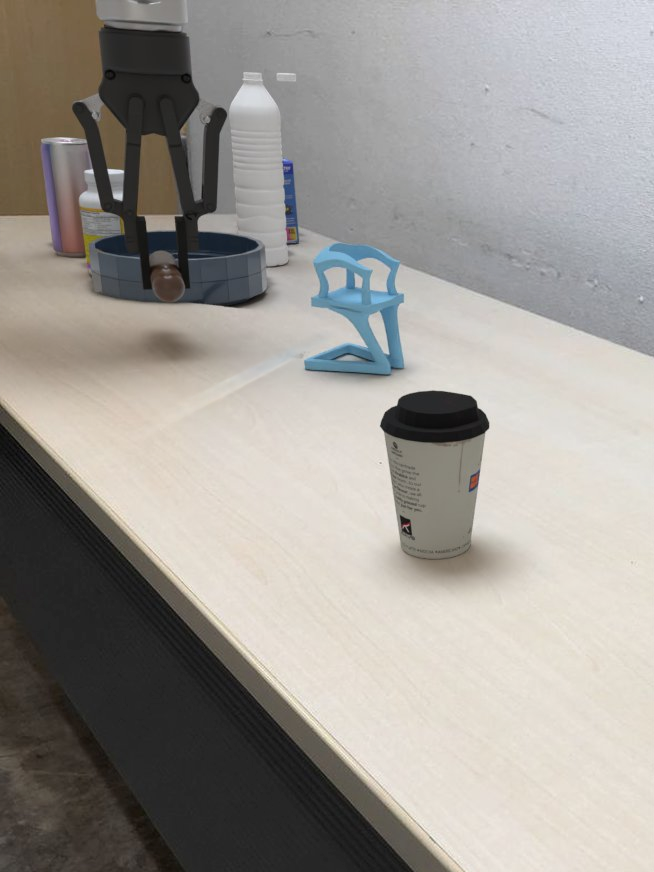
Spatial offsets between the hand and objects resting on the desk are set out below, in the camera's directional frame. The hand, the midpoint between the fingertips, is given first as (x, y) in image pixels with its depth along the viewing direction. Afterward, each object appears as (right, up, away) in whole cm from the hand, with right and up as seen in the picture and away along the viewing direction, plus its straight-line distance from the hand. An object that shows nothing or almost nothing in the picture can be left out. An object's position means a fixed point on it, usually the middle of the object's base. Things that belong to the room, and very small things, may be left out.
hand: (166, 285), depth 109 cm
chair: (+18, -8, +3) cm, 20 cm away
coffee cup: (+33, -23, -34) cm, 53 cm away
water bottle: (-5, +11, +47) cm, 48 cm away
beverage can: (-31, +12, +44) cm, 55 cm away
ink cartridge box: (-11, +18, +63) cm, 66 cm away
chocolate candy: (0, 0, 0) cm, 1 cm away
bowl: (-9, +4, +27) cm, 28 cm away
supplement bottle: (-21, +7, +34) cm, 41 cm away
